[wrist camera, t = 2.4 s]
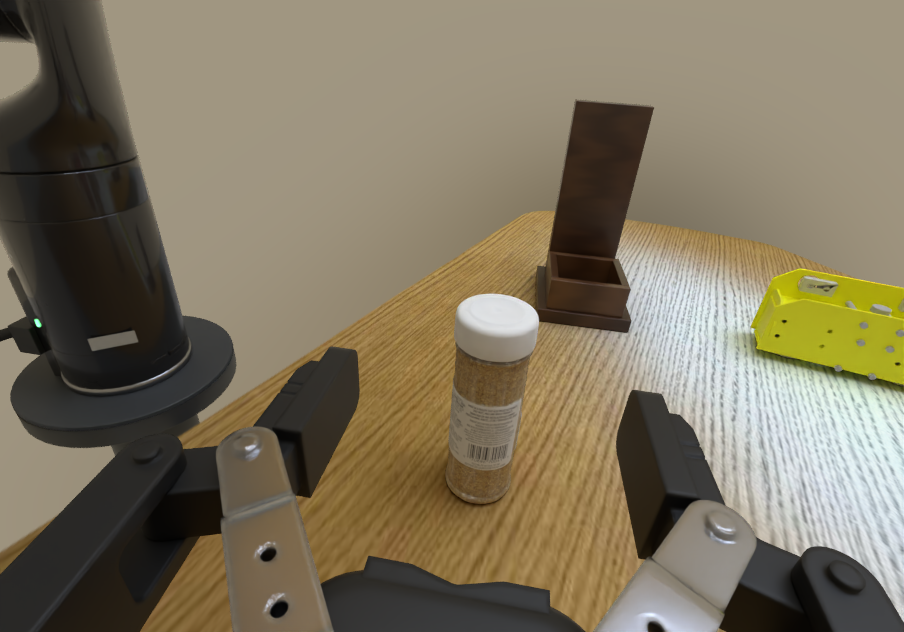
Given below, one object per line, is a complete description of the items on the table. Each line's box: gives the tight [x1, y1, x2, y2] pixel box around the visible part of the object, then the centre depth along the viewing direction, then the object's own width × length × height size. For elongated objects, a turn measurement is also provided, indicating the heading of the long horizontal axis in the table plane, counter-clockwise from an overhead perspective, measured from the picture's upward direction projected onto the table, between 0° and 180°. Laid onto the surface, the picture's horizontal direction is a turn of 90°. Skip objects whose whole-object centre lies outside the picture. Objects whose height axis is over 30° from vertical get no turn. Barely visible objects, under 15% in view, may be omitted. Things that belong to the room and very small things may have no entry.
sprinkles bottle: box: [445, 294, 539, 504], centre depth 28 cm, size 5×5×13 cm
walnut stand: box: [536, 100, 654, 332], centre depth 50 cm, size 10×12×22 cm
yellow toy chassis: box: [751, 268, 904, 386], centre depth 45 cm, size 16×6×8 cm, turn 66°
